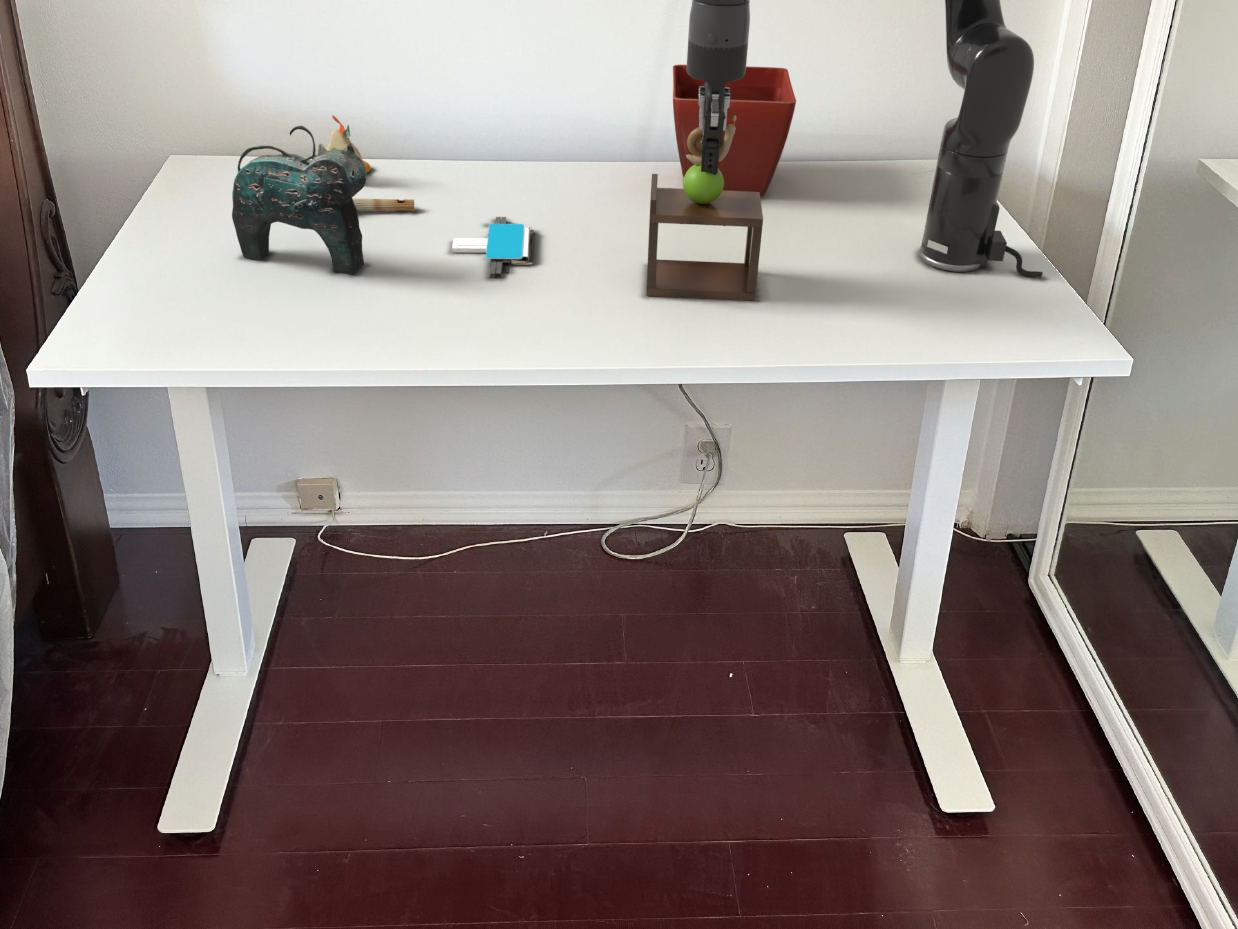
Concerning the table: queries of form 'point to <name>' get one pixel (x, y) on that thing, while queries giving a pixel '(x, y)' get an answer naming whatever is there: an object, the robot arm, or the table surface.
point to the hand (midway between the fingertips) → (708, 170)
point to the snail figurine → (705, 183)
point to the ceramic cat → (301, 201)
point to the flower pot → (741, 124)
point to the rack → (701, 275)
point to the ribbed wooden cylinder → (383, 204)
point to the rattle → (343, 141)
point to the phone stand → (501, 246)
